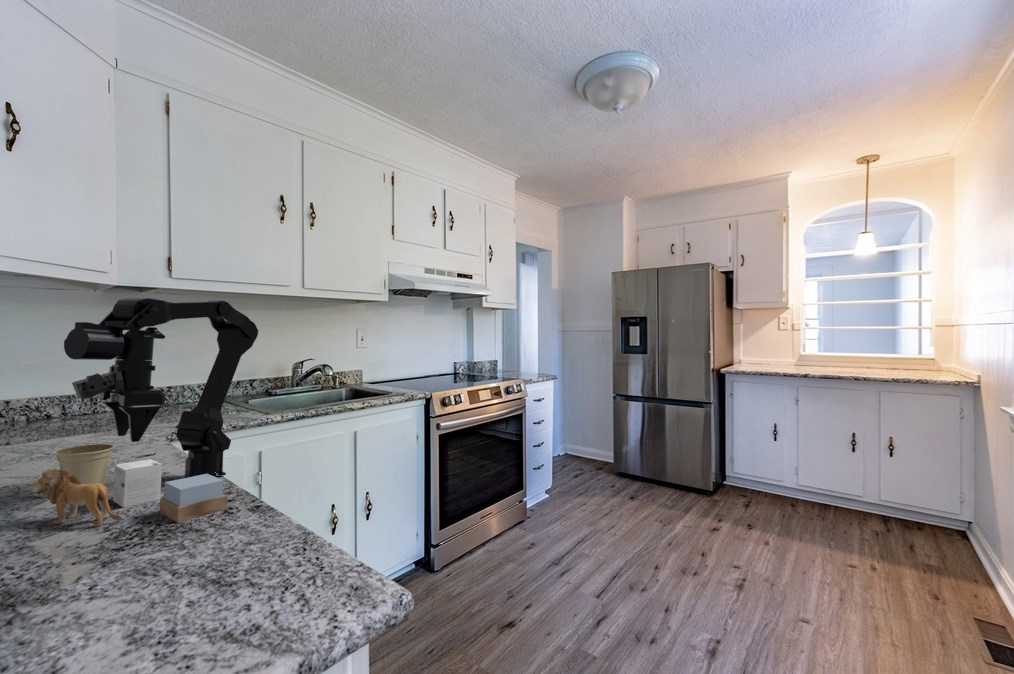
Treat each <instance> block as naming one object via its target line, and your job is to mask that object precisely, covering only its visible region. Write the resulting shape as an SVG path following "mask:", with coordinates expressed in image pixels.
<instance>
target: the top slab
mask: <svg viewBox="0 0 1014 674" xmlns="http://www.w3.org/2000/svg"><path fill="white" fill-rule="evenodd" d="M223 494H224V479H221V478H219V477H214V476H211V475H209V474H203V475H198V476H193V477H188V478H186V477H184V478H179V479H174V480H169V481H165V482H164V496H163V498H164V499H166V500H168V501H170V502H172V503H174V504H176V505H178V506H184V505H188V504H192V503H196V502H200V501H204V500H208V499H212V498H216V497H220V496H223Z"/></svg>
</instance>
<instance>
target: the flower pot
mask: <svg viewBox="0 0 1014 674" xmlns="http://www.w3.org/2000/svg"><path fill="white" fill-rule="evenodd" d="M115 447H116V446H115V444H111V443H93V444H90V443H89V444H83V445H75V446H70V447H69V446H68V447H65V448H61V449H57V450H55V451H54V452H53V455H55V456H56V461H57V462H58V465H59V470H62V471H66V472H68V473H70V474H71V475H74V476H76V477H77V478H78V480H79V482H81V483H82V484H94V483H101V484H103V485H104V486H105V481H106V476H107V471H108V466H109V460H110V456H111V455H112V453H113V449H115Z"/></svg>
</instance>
